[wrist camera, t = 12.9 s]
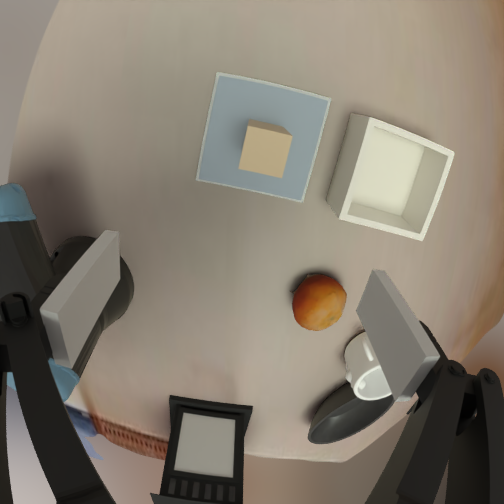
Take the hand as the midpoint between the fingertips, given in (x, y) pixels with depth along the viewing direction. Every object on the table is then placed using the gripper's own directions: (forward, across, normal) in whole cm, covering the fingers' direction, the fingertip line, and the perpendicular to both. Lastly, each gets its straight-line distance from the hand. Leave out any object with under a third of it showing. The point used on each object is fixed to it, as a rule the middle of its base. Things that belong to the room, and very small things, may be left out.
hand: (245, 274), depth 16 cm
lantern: (+27, +1, -56) cm, 62 cm away
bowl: (+26, +28, -42) cm, 57 cm away
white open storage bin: (+26, +18, +3) cm, 31 cm away
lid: (+26, +1, +4) cm, 26 cm away
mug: (+26, +26, -26) cm, 45 cm away
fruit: (+26, +14, -17) cm, 34 cm away
